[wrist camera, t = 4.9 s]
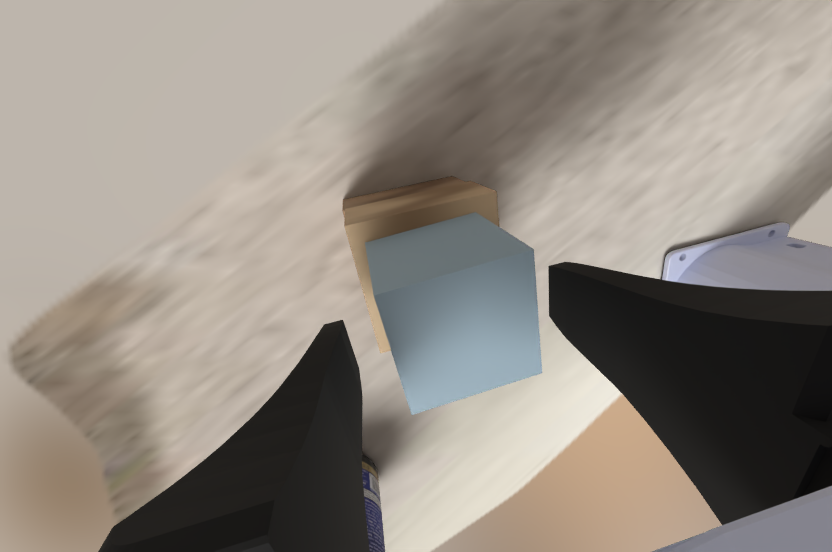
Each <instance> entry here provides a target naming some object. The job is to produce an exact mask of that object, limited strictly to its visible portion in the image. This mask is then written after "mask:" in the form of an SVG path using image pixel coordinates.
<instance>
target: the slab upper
mask: <svg viewBox="0 0 832 552" xmlns="http://www.w3.org/2000/svg"><path fill="white" fill-rule="evenodd" d="M474 212H476V213H478V214H479V215H481V216H483V217H484V218H486V219H487V220H489V221H490V222H492V223H493V224H495V225H497V226H498V227H499V218H498V205H497V191H494V190H492V189H489V188H487V187H484V186H482V185H479V184H477V183H474V182H472V181H468V182H463V183H459V184H455V185H450V186H446V187H441V188H437V189H432V190H428V191H423V192H419V193H414V194H410V195H405V196H401V197H396V198H392V199H387V200H383V201H378V202H374V203H369V204H365V205H360V206H356V207H352V208H347V209H345V225H344V226H345V230H346V233H347V237H348V240H349V244H350V247H351V251H352V254H353V258H354V262H355V265H356V269H357V272H358V276H359V279H360V283H361V286H362V290H363V293H364V297H365V300H366V304H367V307H368V311H369V315H370V318H371V322H372V325H373V329H374V332H375V336H376V339H377V343H378V346H379V350H380V353H383V352H387V351H391V348H390V345H389V342H388V339H387V336H386V333H385V330H384V326H383V323H382V320H381V317H380V314H379V311H378V308H377V304H376V301H375V298H374V295H373V289H372V283H371V277H370V271H369V265H368V259H367V253H366V247H365V242H369V241H373V240H376V239H380V238H384V237H387V236H391V235H394V234H398V233H402V232H405V231H409V230H413V229H416V228H420V227H423V226H427V225H431V224H434V223H438V222H442V221H445V220H449V219H453V218H456V217H460V216H463V215H467V214H471V213H474Z"/></svg>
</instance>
